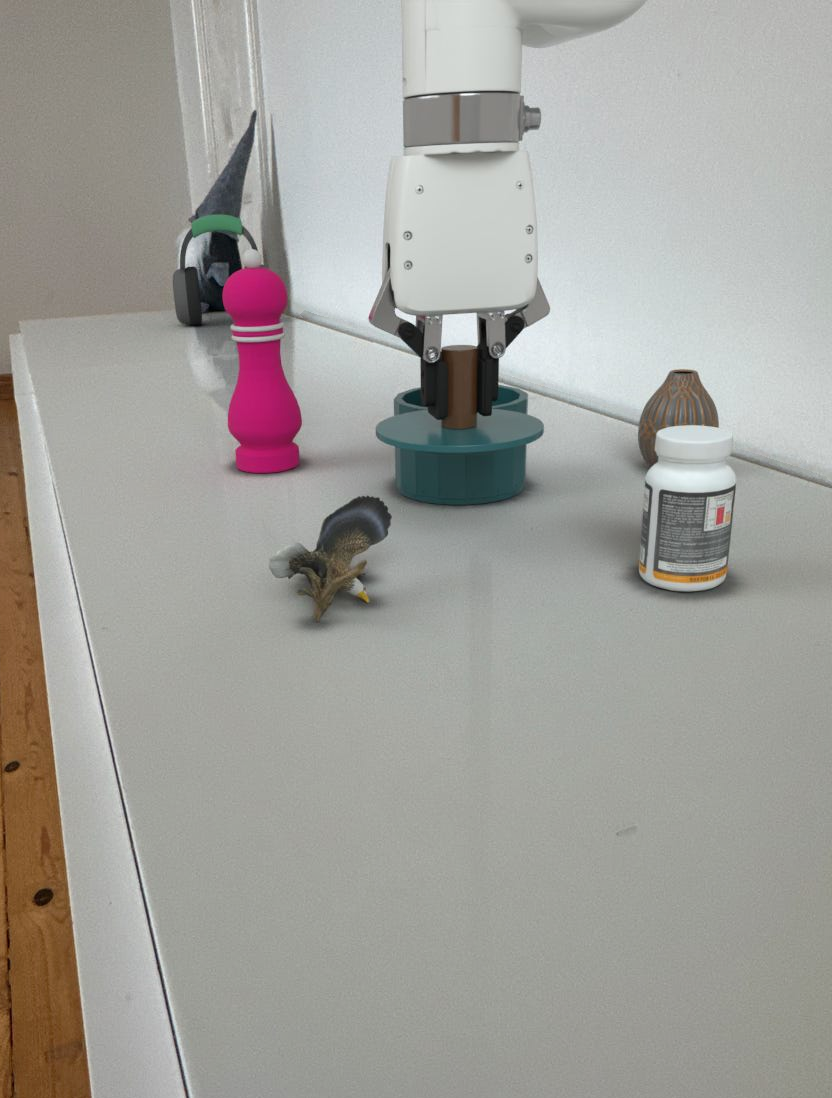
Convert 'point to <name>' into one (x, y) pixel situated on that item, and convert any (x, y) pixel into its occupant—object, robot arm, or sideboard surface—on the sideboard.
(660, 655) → the sideboard surface
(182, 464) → the sideboard surface
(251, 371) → the pepper mill
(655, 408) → the vase
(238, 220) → the headphones
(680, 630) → the sideboard surface
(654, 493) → the pill bottle
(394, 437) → the lid
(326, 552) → the eagle figurine
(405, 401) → the pot
